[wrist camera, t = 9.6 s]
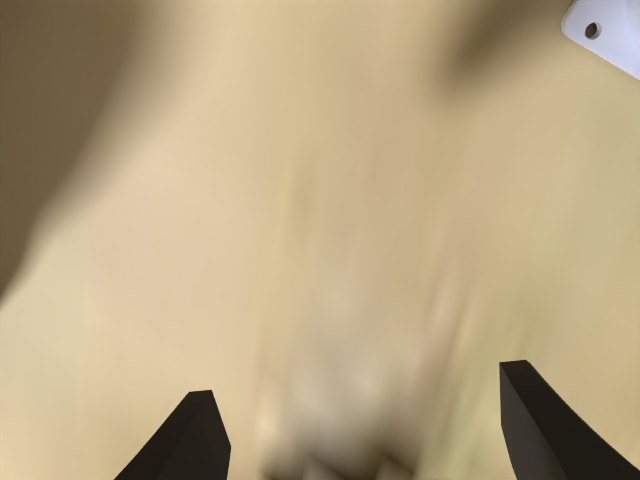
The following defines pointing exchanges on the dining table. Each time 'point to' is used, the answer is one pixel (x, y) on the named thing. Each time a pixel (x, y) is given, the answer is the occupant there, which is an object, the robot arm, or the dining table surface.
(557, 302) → the dining table surface
